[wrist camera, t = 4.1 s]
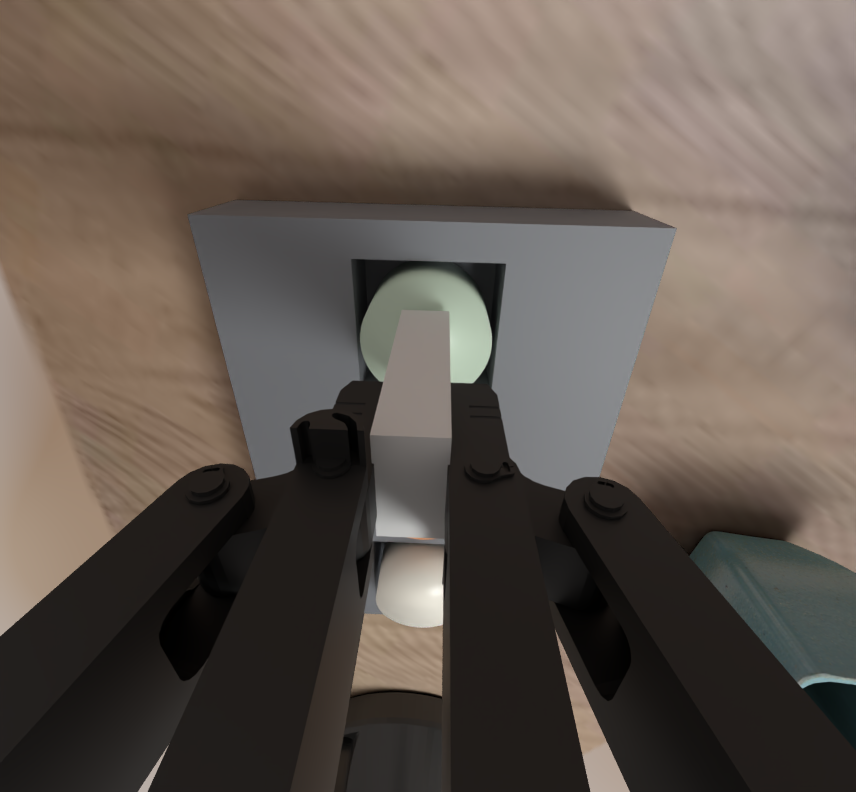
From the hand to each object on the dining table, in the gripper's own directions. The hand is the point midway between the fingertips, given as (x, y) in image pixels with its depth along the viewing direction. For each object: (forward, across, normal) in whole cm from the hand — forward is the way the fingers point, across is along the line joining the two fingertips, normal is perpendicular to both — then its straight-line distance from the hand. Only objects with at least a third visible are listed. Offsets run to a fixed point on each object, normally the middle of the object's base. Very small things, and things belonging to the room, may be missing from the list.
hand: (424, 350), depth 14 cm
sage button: (+3, 0, 0) cm, 3 cm away
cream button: (+2, 0, +14) cm, 14 cm away
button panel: (+5, 0, +7) cm, 8 cm away
